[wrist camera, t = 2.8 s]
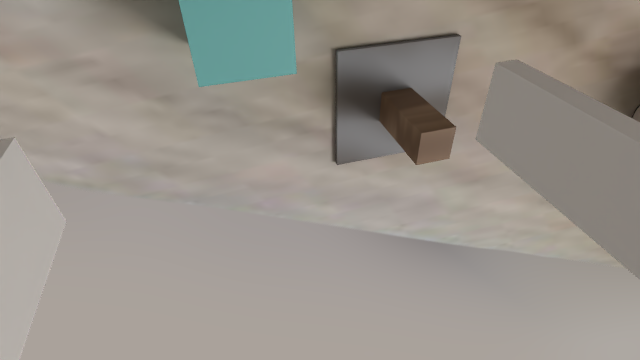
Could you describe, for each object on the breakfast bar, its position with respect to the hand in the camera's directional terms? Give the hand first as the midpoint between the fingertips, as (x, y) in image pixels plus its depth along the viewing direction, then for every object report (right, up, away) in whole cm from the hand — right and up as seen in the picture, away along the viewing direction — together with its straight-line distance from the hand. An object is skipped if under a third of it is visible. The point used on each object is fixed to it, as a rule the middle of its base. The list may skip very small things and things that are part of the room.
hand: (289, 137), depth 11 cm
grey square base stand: (+7, +5, +21) cm, 22 cm away
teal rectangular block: (-5, +10, +13) cm, 17 cm away
